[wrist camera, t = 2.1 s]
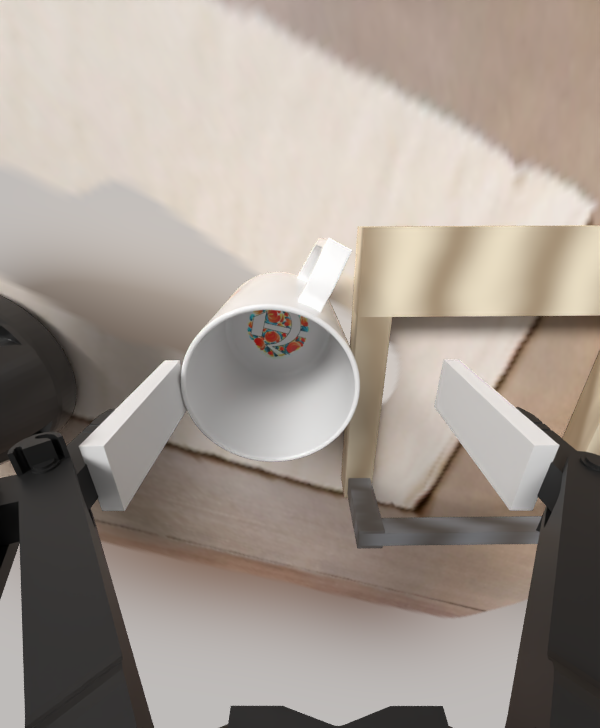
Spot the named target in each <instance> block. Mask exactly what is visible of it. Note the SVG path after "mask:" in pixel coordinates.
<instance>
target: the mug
mask: <svg viewBox="0 0 600 728" xmlns="http://www.w3.org/2000/svg"><path fill="white" fill-rule="evenodd" d="M351 252H352V250H351V249H350V248H348V247H346V246H344V245H342V244H340V243H338V242H336V241H335V240H333V239H331V238H328V239H324V238H319V239H318V240H317V241H316V243H315V245H314V246H313V248H312V250H311V252H310V254H309V256H308V257H307V259H306V261H305V263H304V265H303V266H302V268H301V270H300V272H299V274H298V275H296V274H292V273H287V272H270V273H265V274H261V275H258V276H256V277H253V278H251V279H249V280H248V281H246V282H245V283H243V284H242V285H241V286H240V287H239V288H238V289H237V290H236V291H235V292H234V293H233V294H232V295H231V296H230V298H229V299H228V300H227V301H226V302H225V304H224V305H223V306H222V307H221V308H220V309H219V310H218V312H217V313H216V314H215V315H214V316H213V317H212V318H211V320H210V321H209V322H208V323H207V324H206V326H204V328H203V329H202V330H201V331H200V332H199V334H198V335H197V336H196V337H195V339H194V340H193V341H192V343H191V345H190V346H189V348H188V350H187V353H186V355H185V357H184V361H183V364H182V370H181V391H182V397H183V400H184V404H185V406H186V409H187V411H188V413H189V415H190V417H191V418H192V420H193V421H194V423H195V424H196V426H197V427H198V428H199V429H200V431H201V432H202V433H203V434H204V435H205V436H206V437H208V438H209V439H210V440H211V441H212V442H214V443H215V444H216V445H218V446H220V447H221V448H223V449H225V450H227V451H229V452H231V453H233V454H235V455H238V456H241V457H244V458H247V459H252V460H257V461H266V462H280V461H289V460H294V459H298V458H302V457H305V456H308V455H310V454H313V453H315V452H317V451H319V450H321V449H322V448H324V447H326V446H327V445H328V444H330V443H331V442H332V441H334V440H335V439H336V438H337V437H338V436H339V435H340V434H341V433H342V432H343V430H344V429H345V428H346V426H347V425H348V424H349V422H350V420H351V419H352V417H353V415H354V412H355V410H356V407H357V404H358V400H359V394H360V377H359V371H358V366H357V363H356V360H355V357H354V355H353V353H352V350H351V348H350V346H349V344H348V341H347V339H346V337H345V335H344V332H343V330H342V328H341V325H340V323H339V321H338V318H337V316H336V314H335V312H334V309H333V307H332V305H331V303H330V301H329V299H328V298H329V297H330V295H331V293H332V291H333V289H334V287H335V285H336V283H337V281H338V279H339V277H340V275H341V273H342V271H343V268H344V266H345V264H346V262H347V260H348V258H349V256H350V254H351Z"/></svg>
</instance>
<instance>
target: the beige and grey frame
mask: <svg viewBox="0 0 600 728" xmlns="http://www.w3.org/2000/svg"><path fill="white" fill-rule="evenodd" d="M590 315H600V225H592V226H395V227H358V231H357V246H356V261H355V276H354V291H353V306H352V321H351V337H350V348H351V350H352V353H353V355H354V357H355V360H356V363H357V366H358V371H359V377H360V394H359V400H358V404H357V407H356V410H355V412H354V415H353V417H352V419H351V420H350V422H349V424H348V425H347V426H346V428H345V429H344V442H343V457H342V472H341V481H342V487H343V492H344V498H348V500H349V506H350V511H351V517H352V522H353V527H354V533H355V538H356V544H357V548H382V547H383V546H392V545H477V544H538V540H539V534H540V532H538V531H536V529H537V527H538V524H539V522H540V520H541V518H542V516H522V517H432V518H381V515H380V512H379V508H378V505H377V501H376V498H375V494H374V491H373V487H372V478H373V470H374V462H375V454H376V446H377V437H378V429H379V421H380V413H381V404H382V395H383V388H384V379H385V371H386V363H387V354H388V347H389V339H390V330H391V322H392V317H446V316H590ZM563 440H564V441H566V442H567V443H568V444H569V445H571V446H572V447H573V448H574V449H575V450H577V451H585V452H589V453H593V454H597V455H599V456H600V352H599V354H598V356H597V359H596V361H595V363H594V366H593V368H592V370H591V373H590V375H589V377H588V380H587V382H586V385H585V387H584V389H583V392H582V394H581V396H580V399H579V401H578V403H577V406H576V408H575V410H574V413H573V415H572V417H571V420H570V422H569V424H568V427H567V429H566V431H565V434H564V436H563Z"/></svg>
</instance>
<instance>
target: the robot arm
mask: <svg viewBox="0 0 600 728" xmlns="http://www.w3.org/2000/svg"><path fill="white" fill-rule="evenodd" d="M181 370H182V369H181V363H180V360H165V361H164V362H163V363H162V364H161V365H160V366H159V367H158V368H157V369H156V370H155V371H154V372H153V373H152V374H151V375H150V376H149V377H148V378H147V379H146V380H145V381H144V382H143V383H142V384H141V385H140V386H139V387H138V388H137V389H136V390H135V391H133V392H132V393H131V394H130V395H129V396H128V397H127V398H126V399H125V400H124V401H123V402H122V403H121V404H120V405H119V406H118V407H117V408H116V409H110V410H108V411H106V412H105V413H103V414H101V415H99V416H98V417H97V418H96V419H95V420H94V421H92V422H91V423H90V426H87V427H86V428H85V429H84V430H83V432H82V433H80V434H79V435H78V436H77V437H76V438H75V439H73V440H72V441H71V442H70V443H69V444H68V445H67V446H66V444H65V441H64V439H63V436H62V435H61V434H60V433H58V431H59V430H60V429H61V428H62V427H63V426H64V425H65V424H66V423H67V421H68V420H69V418H70V417H71V415H72V413H73V410H74V407H75V403H76V382H75V378H74V374H73V371H72V368H71V365H70V363H69V361H68V359H67V357H66V355H65V353H64V352H63V350H62V348H61V347H60V345H59V344H58V343H57V341H56V340H55V339H54V337H53V336H52V335H51V334H50V333H49V332H48V330H47V329H46V328H45V327H44V326H43V325H42V324H41V323H40V322H39V321H37V320H36V319H35V318H34V317H33V316H32V315H30V314H29V313H28V312H27V311H25V310H24V309H22V308H21V307H20V306H18V305H16V304H15V303H13V302H12V301H10V300H8V299H6V298H5V297H3V296H1V295H0V465H1V464H3V463H5V462H8V461H10V462H11V464H12V466H13V468H14V470H15V472H16V474H17V475H13V476H9V477H4V478H0V598H1V596H2V593H3V590H4V587H5V584H6V581H7V578H8V575H9V572H10V569H11V567H12V564H13V561H14V558H15V555H16V552H17V549H18V546H19V543H20V565H21V596H22V597H21V598H22V630H23V663H24V694H25V695H24V696H25V728H154V725H153V723H152V719H151V716H150V712H149V709H148V705H147V702H146V698H145V695H144V691H143V688H142V684H141V681H140V677H139V674H138V670H137V667H136V663H135V660H134V657H133V653H132V649H131V646H130V642H129V639H128V635H127V632H126V628H125V625H124V621H123V618H122V614H121V611H120V608H119V604H118V600H117V597H116V593H115V590H114V586H113V583H112V579H111V576H110V573H109V569H108V566H107V562H106V559H105V555H104V551H103V548H102V545H101V541H100V538H99V534H98V531H97V527H96V524H95V520H94V517H93V514H92V511H91V507H92V505H93V504H94V503H95V501H96V500H97V499H98V500H99V503H100V506H101V509H102V511H125V509H126V508H127V506H128V505H129V503H130V501H131V500H132V498H133V496H134V495H135V493H136V491H137V490H138V488H139V487H140V485H141V483H142V482H143V480H144V478H145V477H146V475H147V474H148V472H149V470H150V469H151V467H152V465H153V464H154V462H155V461H156V459H157V457H158V456H159V454H160V452H161V451H162V449H163V448H164V446H165V444H166V443H167V441H168V439H169V438H170V436H171V435H172V433H173V431H174V430H175V428H176V426H177V425H178V423H179V422H180V420H181V418H182V417H183V415H184V413H185V412H186V410H187V409H186V406H185V404H184V400H183V397H182V391H181ZM434 407H435V408H436V410H437V411H438V413H439V414H440V415H441V417H442V418H443V419H444V421H445V422H446V424H447V425H448V426H449V428H450V429H451V430H452V432H453V433H454V435H455V436H456V437H457V439H458V440H459V441H460V443H461V444H462V445H463V447H464V448H465V450H466V451H467V452H468V454H469V455H470V456H471V458H472V459H473V461H474V462H475V463H476V465H477V466H478V467H479V469H480V470H481V472H482V473H483V474H484V476H485V477H486V478H487V480H488V481H489V482H490V484H491V485H492V487H493V488H494V489H495V491H496V492H497V493H498V495H499V496H500V498H501V499H502V500H503V502H504V503H505V504H506V506H507V507H508V509H509V510H533V508H534V505H535V503H536V501H537V498H538V497H539V498H540V499H541V500H542V502H543V503H544V504H545V505H546V508H545V511H544V513H543V515H542V518H541V520H540V522H539V524H538V527H537V529H536V531H538V532H540V534H539V540H538V545H537V551H536V557H535V562H534V568H533V574H532V579H531V585H530V591H529V596H528V602H527V608H526V614H525V619H524V625H523V631H522V636H521V642H520V648H519V654H518V659H517V665H516V670H515V677H514V682H513V688H512V693H511V699H510V705H509V711H508V716H507V721H506V726H505V728H600V456H599V455H597V454H593V453H589V452H585V451H577V450H575V449H574V448H573V447H572V446H571V445H569V444H568V443H567V442H566V441H564V440H563V439H562V438H561V437H560V436H558V435H557V434H556V433H555V432H554V431H551V430H550V428H549V427H547V426H546V425H545V424H542V422H541V421H540V420H539V419H538V418H536V417H535V416H534V415H533V414H531V413H529V412H527V411H525V410H523V409H521V408H519V407H514V406H513V405H512V404H511V403H509V402H508V401H507V400H506V399H505V398H504V397H502V396H501V395H500V394H499V393H498V392H497V391H495V390H494V389H493V388H492V387H491V386H490V385H488V384H487V383H486V382H485V381H484V380H483V379H481V378H480V377H479V376H478V375H477V374H476V373H474V372H473V371H472V370H471V369H470V368H469V367H467V366H466V365H465V364H464V363H463V362H461V361H460V360H459V359H444V360H443V365H442V370H441V375H440V380H439V385H438V390H437V395H436V400H435V405H434ZM220 728H452V727H450V726H448V722H447V719H446V716H445V712H444V709H443V706H390V707H387V708H385V709H382V710H380V711H377V712H375V713H372V714H370V715H368V716H365V717H363V718H360V719H358V720H355V721H353V722H350V723H348V724H345V725H342V726H334V725H331V724H328V723H326V722H323V721H320V720H318V719H315V718H313V717H310V716H307V715H305V714H302V713H300V712H297V711H295V710H292V709H289V708H287V707H284V706H231V709H230V716H229V723H228V724H227V725H225V726H222V727H220Z"/></svg>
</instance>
